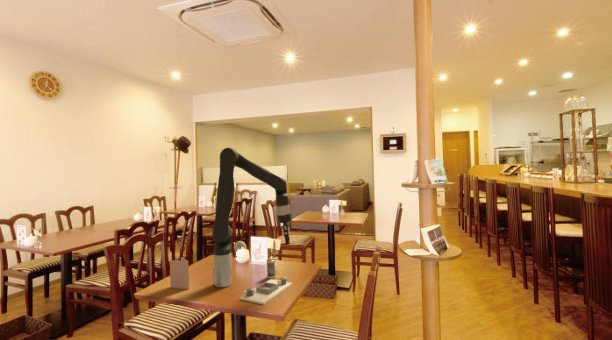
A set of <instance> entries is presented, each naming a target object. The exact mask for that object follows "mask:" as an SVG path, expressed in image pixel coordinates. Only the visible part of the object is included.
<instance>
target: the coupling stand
mask: <svg viewBox="0 0 612 340" xmlns="http://www.w3.org/2000/svg"><path fill="white" fill-rule="evenodd" d="M291 286H293V282H288V278H287V277H280V278H278V279H269V280H267V281H265V282H262V284H259V285H258V286H256V287H255V288H253V287H252V288H250V287H249V288H245V290H243V295H241V296H240V297H239V298H240V299H239V300H241V301H247V302H249V303H255V304H258V305H264V306H265V305H266V304H267V303H269V302H270V301H271V300H274V299H275V298H276V297H277V296H278V295H280V294H282V293H283V292H284V291H285V290H286V291H287V289H289V288H290V287H291Z"/></svg>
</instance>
